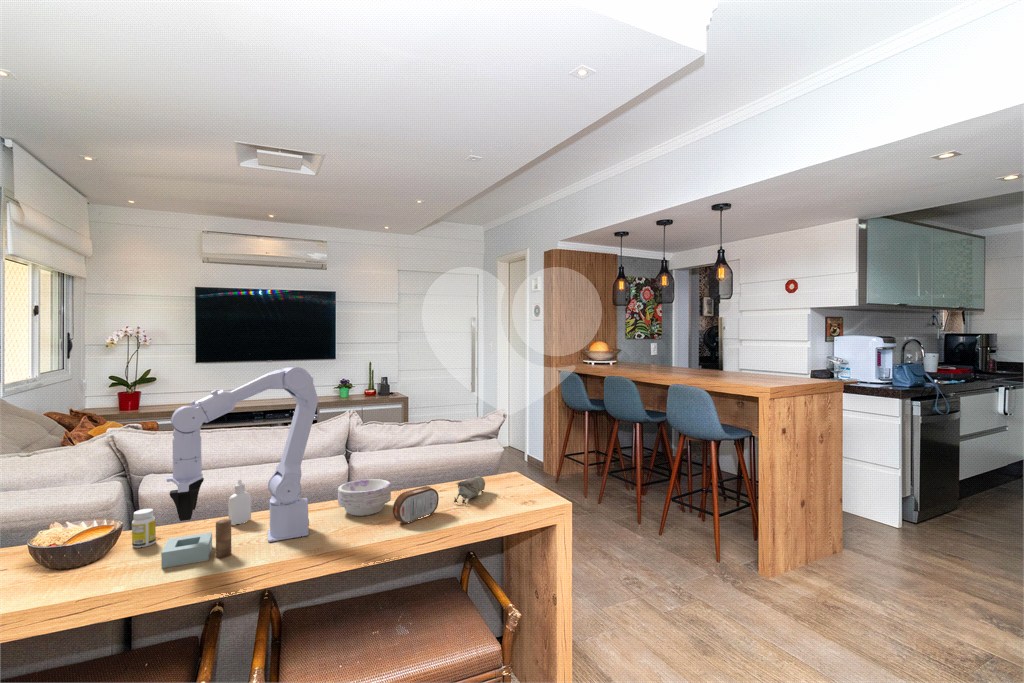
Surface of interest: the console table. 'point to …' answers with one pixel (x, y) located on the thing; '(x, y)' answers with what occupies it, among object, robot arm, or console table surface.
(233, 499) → the eye dropper bottle
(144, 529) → the supplement bottle
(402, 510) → the tin
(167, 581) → the console table surface
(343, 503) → the paper bowls
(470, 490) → the decorative bird
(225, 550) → the pin
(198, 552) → the socket block
